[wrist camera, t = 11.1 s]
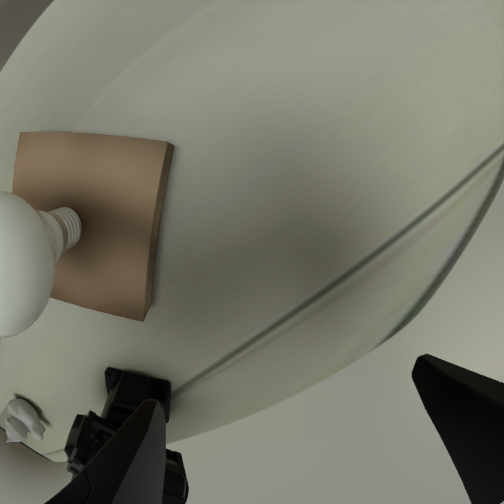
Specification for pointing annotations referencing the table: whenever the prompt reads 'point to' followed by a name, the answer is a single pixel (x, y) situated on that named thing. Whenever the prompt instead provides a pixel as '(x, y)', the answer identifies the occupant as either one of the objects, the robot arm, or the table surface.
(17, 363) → the table surface
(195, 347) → the table surface
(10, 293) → the lightbulb
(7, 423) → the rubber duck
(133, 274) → the walnut plinth
